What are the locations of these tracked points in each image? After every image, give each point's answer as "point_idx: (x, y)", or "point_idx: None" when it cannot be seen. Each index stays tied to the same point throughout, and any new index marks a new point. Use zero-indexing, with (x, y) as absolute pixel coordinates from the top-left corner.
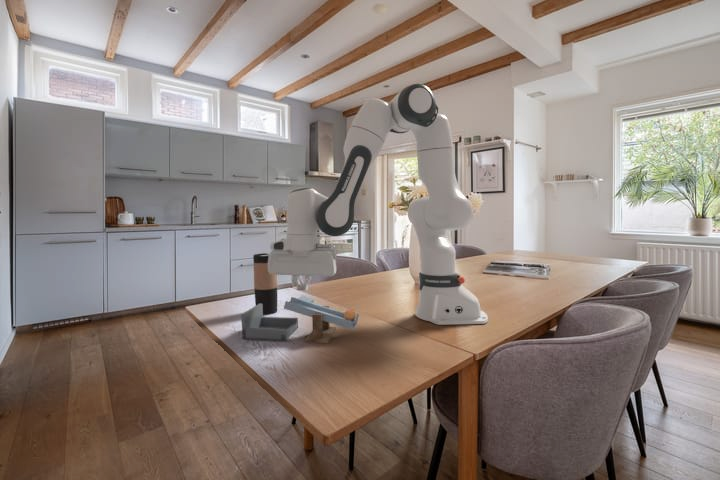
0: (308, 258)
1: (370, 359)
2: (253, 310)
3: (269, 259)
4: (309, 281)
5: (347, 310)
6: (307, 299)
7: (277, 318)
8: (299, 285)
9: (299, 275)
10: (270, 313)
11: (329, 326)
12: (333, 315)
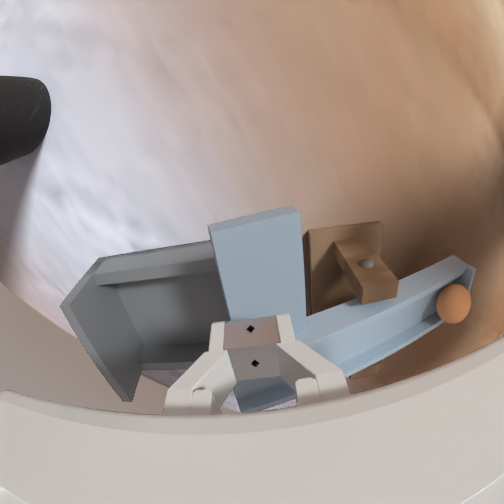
0: None
1: (442, 345)
2: (107, 362)
3: None
4: (316, 355)
5: (457, 319)
6: (273, 265)
7: (152, 278)
8: (243, 376)
9: (211, 410)
10: (44, 133)
11: (363, 239)
12: (407, 306)
